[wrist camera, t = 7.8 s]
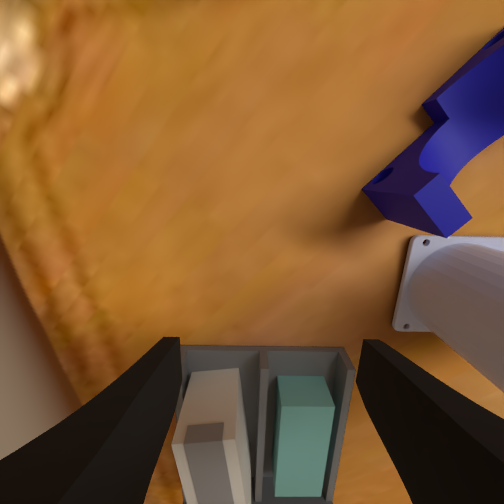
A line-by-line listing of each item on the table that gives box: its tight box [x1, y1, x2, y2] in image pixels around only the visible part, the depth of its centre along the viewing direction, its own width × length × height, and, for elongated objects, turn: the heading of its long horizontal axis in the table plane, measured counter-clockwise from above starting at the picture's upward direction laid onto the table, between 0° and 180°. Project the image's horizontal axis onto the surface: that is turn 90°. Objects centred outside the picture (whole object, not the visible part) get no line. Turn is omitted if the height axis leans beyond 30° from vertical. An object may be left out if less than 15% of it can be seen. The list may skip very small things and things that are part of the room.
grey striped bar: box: [171, 368, 251, 504], centre depth 20 cm, size 4×10×6 cm, turn 6°
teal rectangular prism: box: [272, 376, 335, 497], centre depth 22 cm, size 4×10×3 cm, turn 179°
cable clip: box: [362, 28, 504, 239], centre depth 14 cm, size 12×4×6 cm, turn 135°
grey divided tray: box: [176, 345, 356, 504], centre depth 22 cm, size 14×16×3 cm
